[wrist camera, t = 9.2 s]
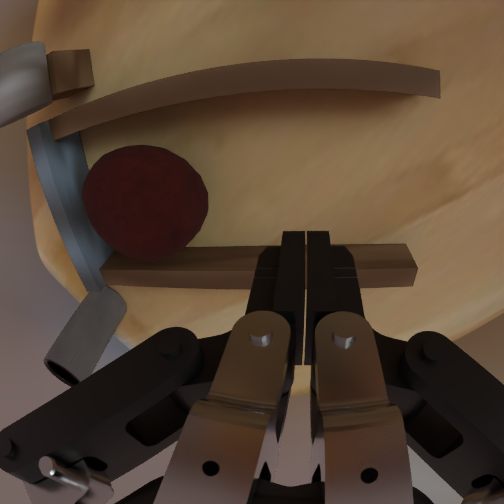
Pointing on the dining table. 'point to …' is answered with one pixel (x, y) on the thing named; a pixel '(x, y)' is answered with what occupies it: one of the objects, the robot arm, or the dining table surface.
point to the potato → (145, 201)
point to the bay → (159, 95)
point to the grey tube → (85, 336)
